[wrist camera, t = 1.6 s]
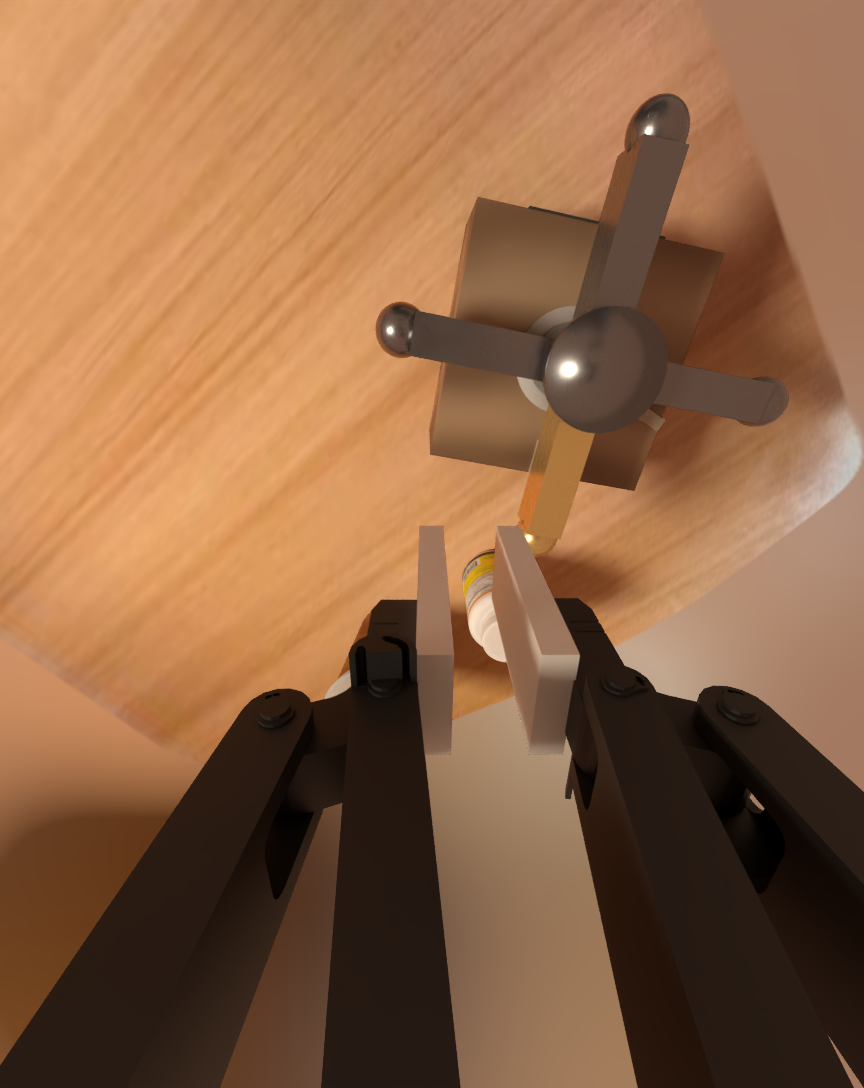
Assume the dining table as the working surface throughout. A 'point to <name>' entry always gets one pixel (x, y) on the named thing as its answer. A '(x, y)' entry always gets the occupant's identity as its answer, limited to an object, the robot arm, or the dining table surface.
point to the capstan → (595, 335)
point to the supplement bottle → (482, 604)
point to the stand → (536, 306)
